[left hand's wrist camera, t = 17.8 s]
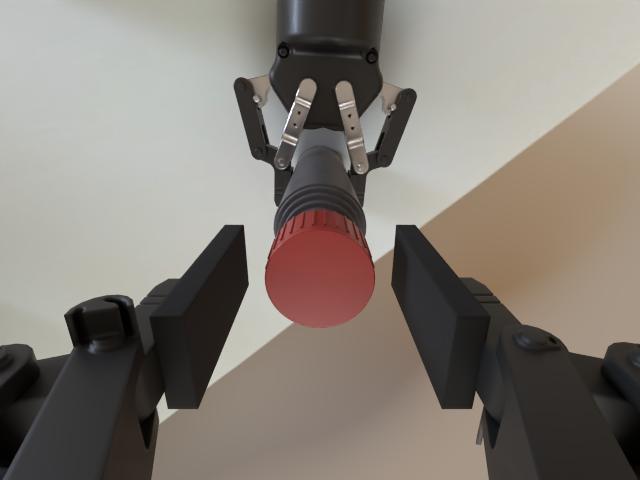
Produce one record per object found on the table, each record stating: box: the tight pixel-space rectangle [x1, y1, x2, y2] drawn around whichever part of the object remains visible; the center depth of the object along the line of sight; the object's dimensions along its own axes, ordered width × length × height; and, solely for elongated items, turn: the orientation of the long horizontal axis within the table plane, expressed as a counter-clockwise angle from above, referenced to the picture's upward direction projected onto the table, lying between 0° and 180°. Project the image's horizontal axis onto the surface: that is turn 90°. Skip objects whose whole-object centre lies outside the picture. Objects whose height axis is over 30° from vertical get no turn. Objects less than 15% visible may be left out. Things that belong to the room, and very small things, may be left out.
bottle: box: [274, 146, 366, 238], centre depth 24 cm, size 5×5×23 cm
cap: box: [265, 209, 375, 328], centre depth 13 cm, size 4×4×2 cm
